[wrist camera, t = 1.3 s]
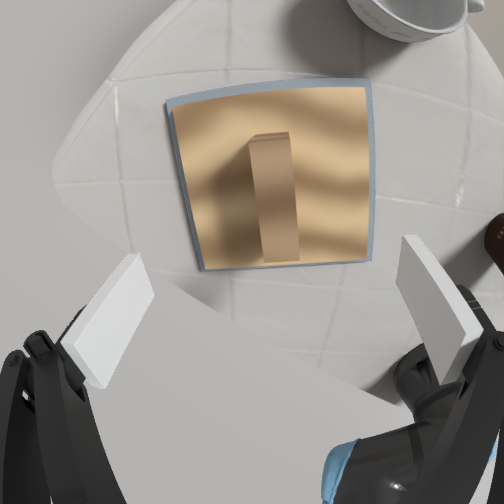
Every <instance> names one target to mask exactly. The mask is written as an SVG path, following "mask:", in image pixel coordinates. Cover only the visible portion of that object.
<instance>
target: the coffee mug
mask: <svg viewBox="0 0 504 504" xmlns="http://www.w3.org/2000/svg"><path fill="white" fill-rule="evenodd" d="M484 243H485V248H486V250H487V252H488V253H489V255H490V256H491V257H492V259H493V260H494V262H495V263H496V265H497V266H498V268H499V269H500V270H501V272H502V273H503V275H504V213H502V214H499V215H497V216H496V217H495V218H494V219H493V220H492V221H491V223H490V224H489V226H488V228H487V231H486V234H485V240H484Z"/></svg>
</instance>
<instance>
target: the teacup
mask: <svg viewBox="0 0 504 504" xmlns="http://www.w3.org/2000/svg"><path fill="white" fill-rule="evenodd" d="M347 2H348V4H349V5H350V7H351V9H352V10H353V12H354V13H355V14H356V15H357V16H358V17H359V18H360V19H361V20H362V21H363V22H364V23H365V24H366V25H367V26H369V27H370V28H371V29H373V30H374V31H376V32H378V33H380V34H382V35H383V36H386V37H388V38H391V39H394V40H398V41H403V42H421V41H426V40H429V39H432V38H435V37H437V36H440V35H442V34H447V33H451V32H454V31H456V30H457V29H458V28H459V27H461V26H462V25H463V23H464V22H465V20H466V17H467V12H469V13H473V12H480V11H482V10H483V9H484V7H485V6H484V2H483V0H347Z"/></svg>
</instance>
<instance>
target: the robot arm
mask: <svg viewBox="0 0 504 504" xmlns="http://www.w3.org/2000/svg"><path fill="white" fill-rule="evenodd" d="M396 284H397V286H398V288H399V290H400V292H401V294H402V296H403V298H404V300H405V302H406V304H407V307H408V309H409V311H410V313H411V315H412V317H413V320H414V322H415V324H416V326H417V329H418V331H419V333H420V336H421V338H422V340H423V343H424V344H422V345H420V346H419V347H417V348H416V349H414V350H413V351H411V352H410V353H409V354H408V355H407V356H406V357H405V358H404V359H403V360H402V361H401V362H400V363H399V365H398V366H397V368H396V370H395V372H394V376H393V380H394V384H395V388H396V391H397V393H398V394H399V395H400V397H401V398H402V400H403V401H404V402H405V404H406V405H407V406H408V408H409V409H410V411H411V412H412V414H413V417H414V422H415V423H414V424H411V425H408V426H405V427H402V428H399V429H396V430H393V431H389V432H386V433H383V434H380V435H376V436H373V437H369V438H364V439H360V438H359V439H356V440H355V441H353V442H349V443H345V444H341V445H338V446H336V447H334V448H333V449H332V450H331V451H330V453H329V454H328V456H327V459H326V462H325V465H324V469H323V475H322V485H321V486H322V487H321V497H322V500H323V504H469V502H470V500H471V498H472V496H473V494H474V492H475V490H476V488H477V486H478V484H479V482H480V479H481V477H482V475H483V473H484V470H485V468H486V465H487V464H488V463H489V462H490V461H491V460H492V459H493V457H494V456H495V454H496V451H497V456H496V462H495V468H494V474H493V479H492V483H491V488H490V492H489V496H488V500H487V504H504V332H501V331H496V329H495V328H494V326H493V324H492V323H491V321H490V320H489V318H488V316H487V315H486V313H485V312H484V310H483V309H482V308H481V306H480V304H479V303H478V301H476V298H475V297H474V296H473V294H472V293H471V291H469V290H468V289H467V288H465V287H464V286H463V285H457V286H455V284H454V283H453V282H452V280H451V279H450V277H449V276H448V275H447V273H446V272H445V270H444V269H443V268H442V266H441V265H440V264H439V262H438V261H437V260H436V258H435V257H434V256H433V254H432V253H431V252H430V251H429V249H428V248H427V247H426V246H425V244H424V243H423V242H422V241H421V239H420V238H419V237H418V236H417V234H412V235H403V236H402V245H401V253H400V260H399V267H398V273H397V279H396ZM154 296H155V295H154V292H153V289H152V287H151V284H150V282H149V279H148V276H147V273H146V270H145V267H144V265H143V262H142V259H141V256H140V253H135V254H127V256H126V257H125V258H124V259H123V260H122V261H121V263H120V264H119V265H118V266H117V268H116V269H115V270H114V271H113V272H112V274H111V275H110V276H109V277H108V279H107V280H106V281H105V283H104V284H103V285H102V286H101V288H100V289H99V290H98V291H97V293H96V294H95V295H94V296H93V298H92V299H91V300H90V302H89V303H88V304H87V305H86V306H84V307H83V308H82V309H81V310H80V311H79V312H78V313H77V314H76V316H75V317H74V320H72V321H71V322H70V324H69V326H67V328H66V329H65V331H64V332H63V334H62V335H61V336H60V338H59V339H58V341H57V342H56V343H55V345H54V343H53V342H52V340H51V339H50V338H49V336H48V334H47V333H46V332H45V331H44V330H39V331H36V332H34V333H32V334H31V335H30V336H29V337H28V338H27V339H26V340H25V342H24V345H23V347H24V348H25V350H26V351H27V352H28V354H29V355H30V357H29V358H27V357H26V356H25V354H24V353H23V351H21V350H15V351H12V352H11V353H10V354H9V355H8V356H7V357H6V359H5V361H4V364H3V367H2V371H1V374H0V504H51V498H52V502H53V504H127V503H126V501H125V499H124V497H123V495H122V492H121V490H120V488H119V486H118V483H117V481H116V479H115V476H114V474H113V471H112V469H111V466H110V464H109V461H108V459H107V456H106V453H105V450H104V447H103V445H102V442H101V439H100V435H99V432H98V429H97V426H96V423H95V419H94V416H93V413H92V409H91V405H90V401H89V397H88V394H87V390H86V387H85V386H84V384H83V382H84V380H85V379H87V380H88V382H89V383H90V384H91V385H92V387H97V388H101V389H106V388H107V385H108V383H109V381H110V379H111V377H112V375H113V373H114V371H115V369H116V367H117V365H118V363H119V361H120V359H121V357H122V355H123V353H124V351H125V350H126V348H127V345H128V344H129V342H130V340H131V338H132V336H133V334H134V332H135V330H136V329H137V327H138V325H139V323H140V321H141V319H142V318H143V316H144V314H145V312H146V310H147V309H148V307H149V305H150V303H151V301H152V299H153V298H154ZM23 391H24V392H25V393H26V394H27V395H28V400H26V399H25V398H24V397H23V396H22V393H23ZM499 429H500V431H499ZM498 432H499V441H498V449H497V444H496V438H497V435H498ZM50 495H51V498H50Z"/></svg>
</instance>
